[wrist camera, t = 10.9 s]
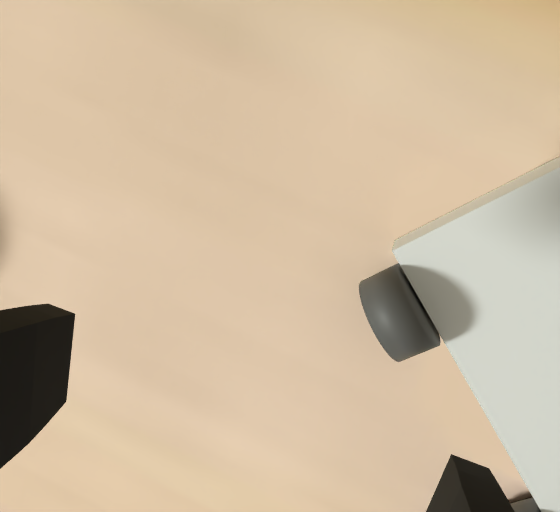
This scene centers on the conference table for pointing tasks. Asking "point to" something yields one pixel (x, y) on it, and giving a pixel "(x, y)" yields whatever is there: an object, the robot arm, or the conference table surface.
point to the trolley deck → (489, 314)
